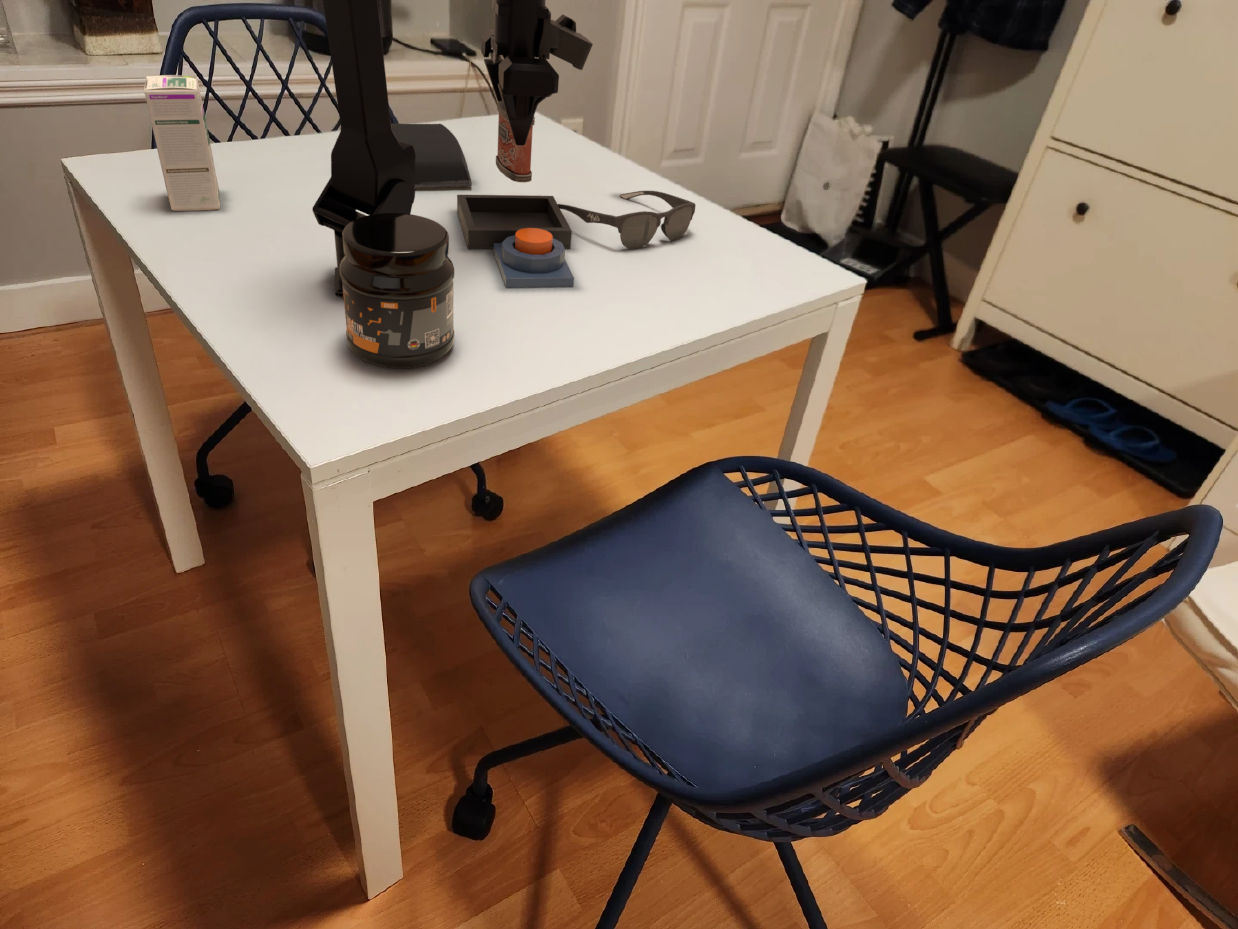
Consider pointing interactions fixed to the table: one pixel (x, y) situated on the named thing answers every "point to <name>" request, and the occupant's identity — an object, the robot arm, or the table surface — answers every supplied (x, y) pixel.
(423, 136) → the hard drive
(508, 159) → the lighter
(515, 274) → the box
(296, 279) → the table surface
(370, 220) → the supplement container
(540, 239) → the test button
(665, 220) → the sunglasses
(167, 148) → the syrup box
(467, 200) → the holder
